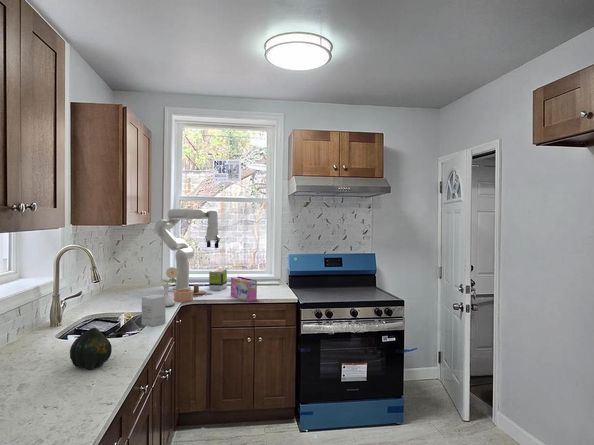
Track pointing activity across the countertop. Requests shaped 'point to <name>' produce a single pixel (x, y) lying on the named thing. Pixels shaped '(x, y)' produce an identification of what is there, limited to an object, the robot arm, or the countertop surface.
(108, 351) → the squash
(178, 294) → the bowl
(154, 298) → the grey canister
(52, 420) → the countertop surface
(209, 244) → the robot arm
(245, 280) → the gum box
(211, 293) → the mat
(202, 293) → the lid
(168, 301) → the flower in vase
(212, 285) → the tea box
